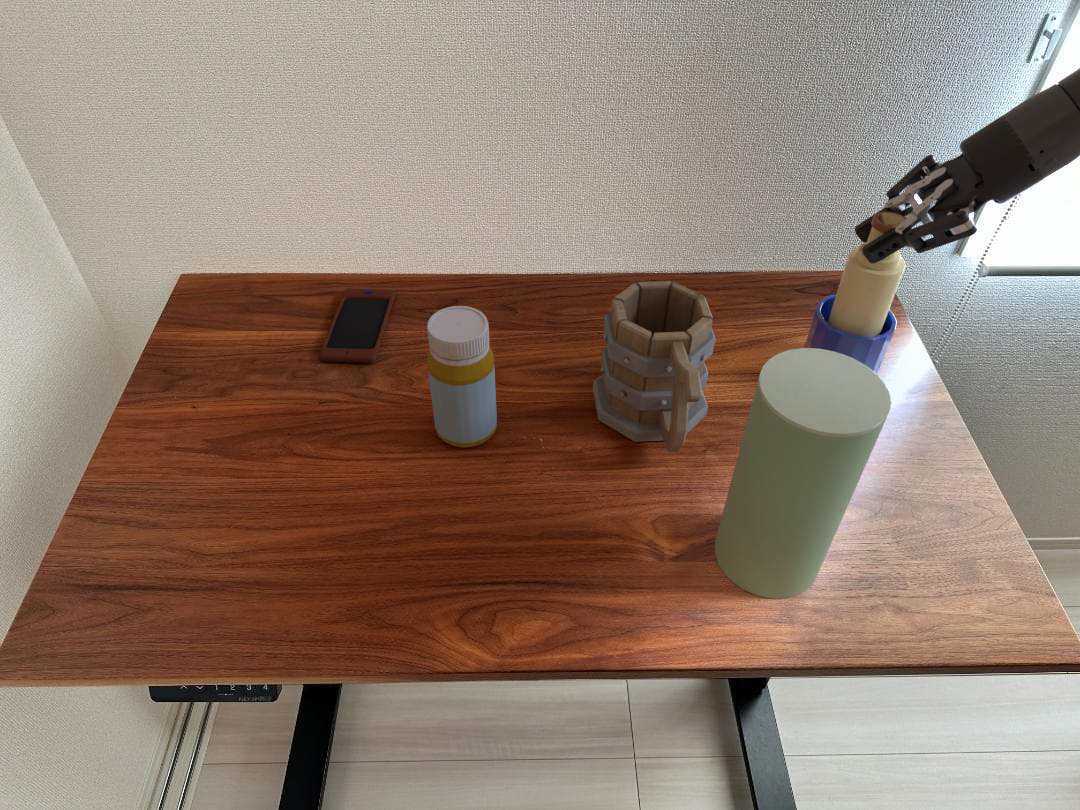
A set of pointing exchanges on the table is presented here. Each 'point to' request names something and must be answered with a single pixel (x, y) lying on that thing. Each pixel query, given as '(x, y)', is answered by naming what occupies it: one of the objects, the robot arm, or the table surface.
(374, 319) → the smartphone
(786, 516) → the green stand
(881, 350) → the blue cup
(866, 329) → the cream bottle
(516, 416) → the table surface
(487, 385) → the bottle
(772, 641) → the table surface
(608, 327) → the tankard
